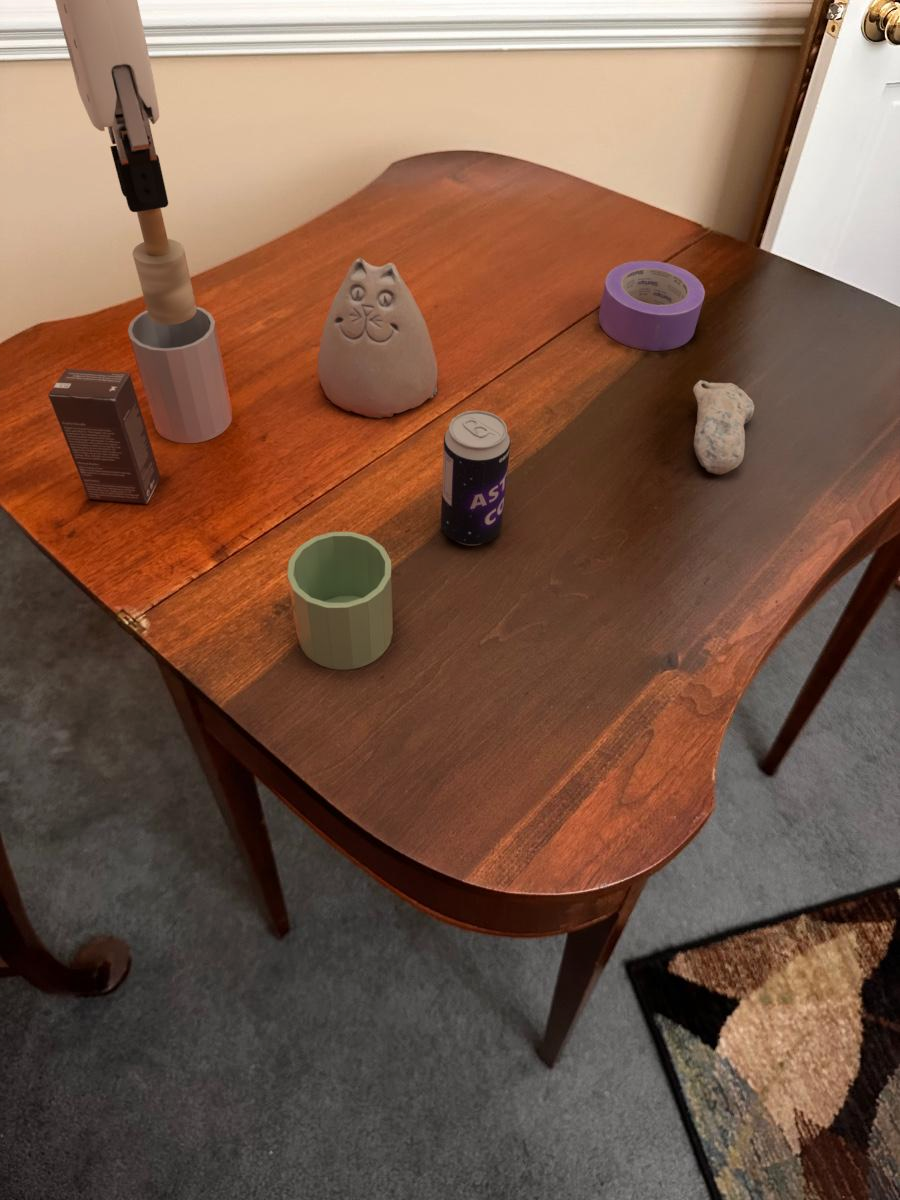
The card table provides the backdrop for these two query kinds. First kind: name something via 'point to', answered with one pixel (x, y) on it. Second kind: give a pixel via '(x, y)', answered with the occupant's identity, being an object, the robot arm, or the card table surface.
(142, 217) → the bottle brush
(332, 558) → the brush holder
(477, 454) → the beverage can
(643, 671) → the card table surface
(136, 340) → the steel cup
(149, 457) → the box
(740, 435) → the decorative stone
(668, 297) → the tape roll
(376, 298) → the sculpture
